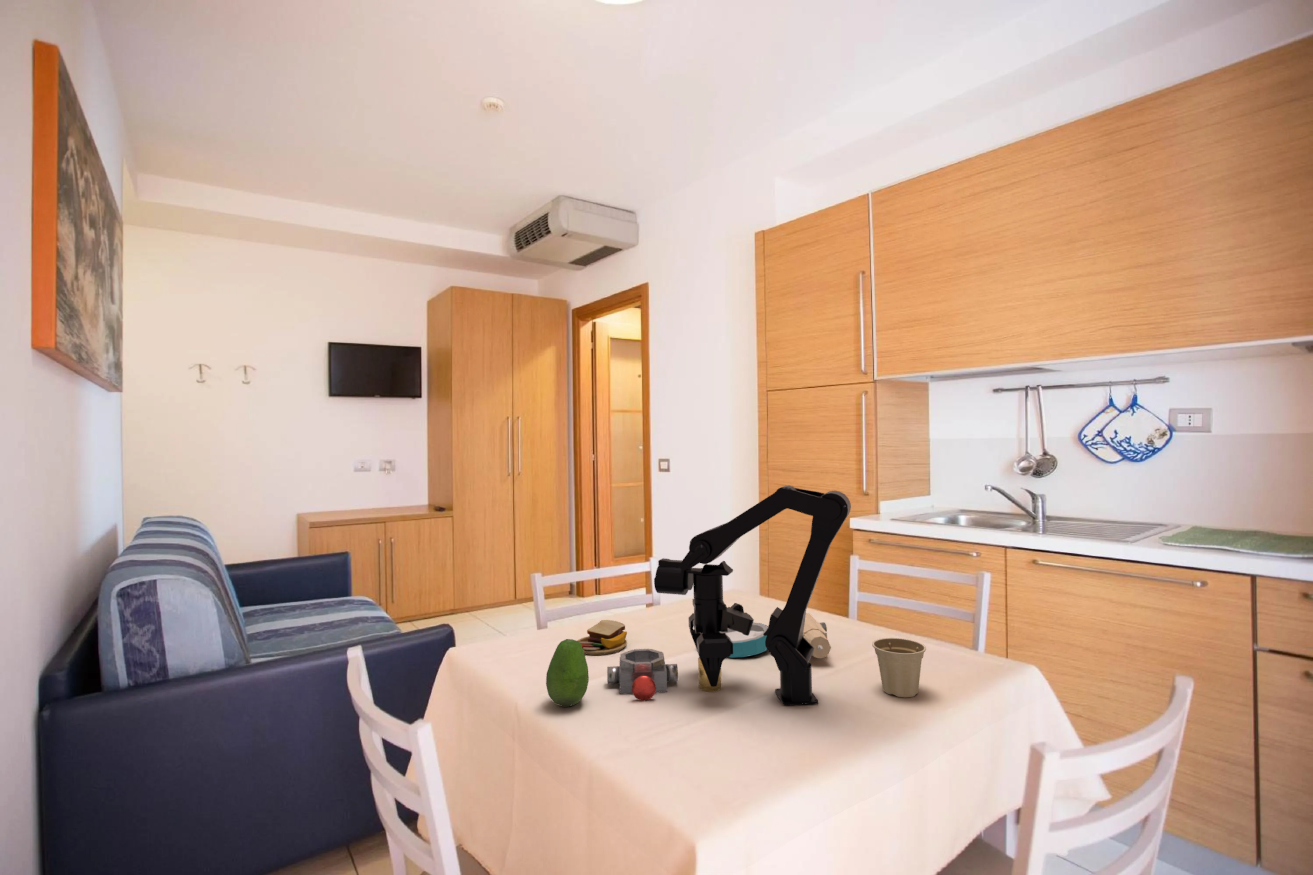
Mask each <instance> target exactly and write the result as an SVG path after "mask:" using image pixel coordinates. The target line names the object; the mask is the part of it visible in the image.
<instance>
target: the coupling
mask: <svg viewBox="0 0 1313 875" xmlns="http://www.w3.org/2000/svg"><path fill="white" fill-rule="evenodd" d="M697 662H698V664H697V666H698V667H697V668H698V688H699V690H701V691H702V692H708V693H710V692H711V693H713V692H718V691H721V689H722V668H721V669H720V674H719V678H718V683H717V686H715V687H712V686H711V685H710V683H709V680H708V678H707V675H706V672H705V670H704V667H703V665H702V662H701V660H700V657H699V656H698V658H697Z"/></svg>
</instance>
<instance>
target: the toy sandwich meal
mask: <svg viewBox="0 0 1313 875" xmlns="http://www.w3.org/2000/svg"><path fill="white" fill-rule="evenodd" d="M586 633H587V634H588V635H589V636H584V637H581V638H579V639H577V640H576V641H579V642H580V643H581V646H582V648H583V651H584V655H590V656H591V655H592V656H601V655H603V656H604V655H611V654H615V653H617V652H620V651H622V650H623V649H624V648H625V647H626V646H627V644H628V643H627V642H628V640H627V639H626V638H627V634H628V631H626V625H625V624H624V623H623V622H621V621H617V620H610V619H601V620H599V622H597V623H596V624H594V625H593V626H591V627H590V628H588V629H587V630H586Z"/></svg>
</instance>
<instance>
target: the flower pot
mask: <svg viewBox="0 0 1313 875" xmlns="http://www.w3.org/2000/svg"><path fill="white" fill-rule="evenodd" d="M872 647H873V648H874V652H875V655H876V658H877V664H878V667H879V668H878V669H879V674H880V680H881V686H882V691H883V692H884V693H886V694H888V695H894V696H896V697H898V698H913V697H915V696H916V695H918V694H919V690H920V679H921V670H922V669H921V668H922V661H923V659H924V653H925V652H926V650H927V647H926V646H925V645H924V644H923V643H921V642H919V641H917V640H916V641H915V640H912V639H909V638H908V639H907V638H900V637H884V638H879V639H875V640H874V641H872Z"/></svg>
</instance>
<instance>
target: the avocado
mask: <svg viewBox="0 0 1313 875" xmlns="http://www.w3.org/2000/svg"><path fill="white" fill-rule="evenodd" d="M545 677H546V678H545V684H546V690H547V695H548V697H549V698H550V700H551V701H552V702H553V703H554V704H556V705H557V706H559V707H572V706H575V705H577V704H578V703H579V702H580V701H582V700H583V697H584V696H585V695H586V692H587V690H588V686H589V678H590V677H589V666H588V662H587V659H586V654H584V651H583V648H582V646H581V643H580V642H579V641H577V640H576V639H572V638H566V639H564V640H562V641H560V642H559V643H558V644H557V646H556V648H555V651H554V653H553V655H552V657H551V659H550V662H549V665H548V667H547V671H546V676H545Z"/></svg>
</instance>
